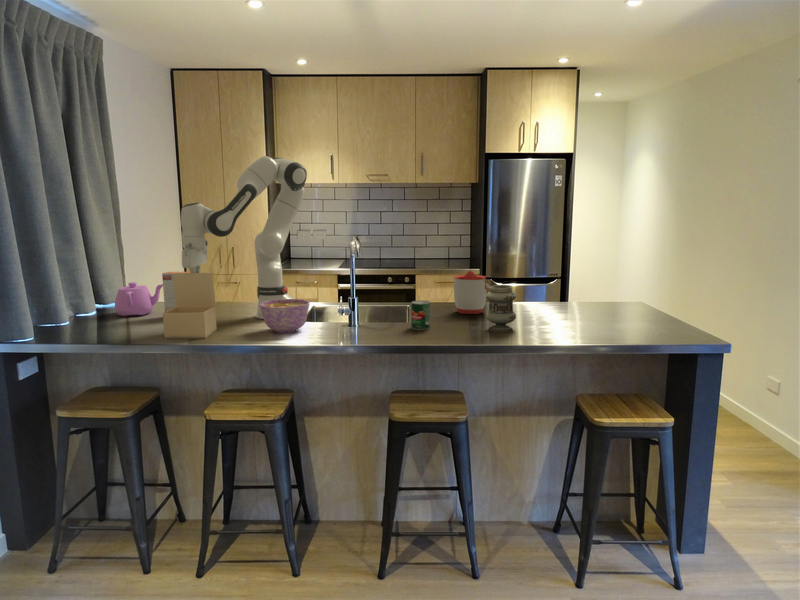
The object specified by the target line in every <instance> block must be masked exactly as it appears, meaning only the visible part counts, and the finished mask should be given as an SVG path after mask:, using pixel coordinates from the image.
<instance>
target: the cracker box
mask: <svg viewBox="0 0 800 600" xmlns="http://www.w3.org/2000/svg"><path fill="white" fill-rule="evenodd" d="M172 273H190V271H166V272H163V273H162V274H161V276H162V284H163V286H162V288H163V289H162V291H163V301H164V313H165V312H167V311H169V310H171V309H173V308H175V307H176V301H175V293H174V284H173V276H172Z"/></svg>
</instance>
